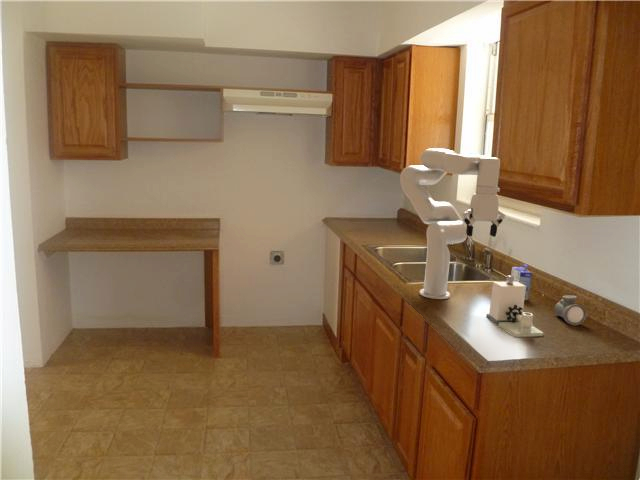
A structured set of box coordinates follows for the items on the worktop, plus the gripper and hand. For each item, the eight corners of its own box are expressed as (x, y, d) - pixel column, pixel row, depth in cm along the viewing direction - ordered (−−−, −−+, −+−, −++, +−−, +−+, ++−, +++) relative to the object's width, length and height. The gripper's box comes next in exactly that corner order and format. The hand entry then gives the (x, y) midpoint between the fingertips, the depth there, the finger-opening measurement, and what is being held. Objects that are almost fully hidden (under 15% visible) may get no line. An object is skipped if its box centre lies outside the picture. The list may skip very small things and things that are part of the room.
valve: (537, 334, 193) (521, 322, 205) (539, 316, 192) (523, 304, 204) (518, 333, 193) (504, 321, 204) (521, 315, 191) (506, 304, 203)
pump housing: (486, 317, 212) (491, 273, 209) (512, 316, 214) (517, 273, 211) (497, 324, 204) (502, 279, 201) (523, 323, 207) (530, 279, 203)
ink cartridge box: (529, 300, 236) (533, 267, 233) (516, 300, 236) (520, 267, 233) (520, 293, 246) (524, 261, 243) (507, 293, 245) (511, 261, 242)
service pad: (498, 325, 204) (498, 322, 203) (525, 324, 206) (525, 321, 206) (515, 336, 193) (515, 333, 193) (543, 335, 195) (543, 332, 195)
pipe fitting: (587, 325, 208) (587, 298, 207) (565, 326, 207) (566, 299, 206) (570, 317, 219) (571, 292, 218) (550, 318, 219) (550, 293, 218)
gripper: (502, 190, 212) (496, 234, 216) (460, 188, 209) (455, 233, 212) (512, 192, 205) (507, 238, 209) (469, 191, 201) (464, 237, 205)
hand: (481, 235), depth 210 cm, fingers open, 9 cm apart
